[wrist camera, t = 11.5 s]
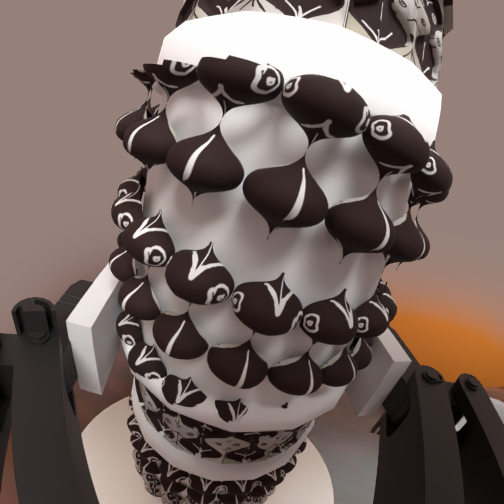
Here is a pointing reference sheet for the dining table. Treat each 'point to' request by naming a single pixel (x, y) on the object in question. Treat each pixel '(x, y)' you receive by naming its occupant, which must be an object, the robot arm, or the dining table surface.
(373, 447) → the dining table surface
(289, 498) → the candle plate
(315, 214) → the decorative candle
